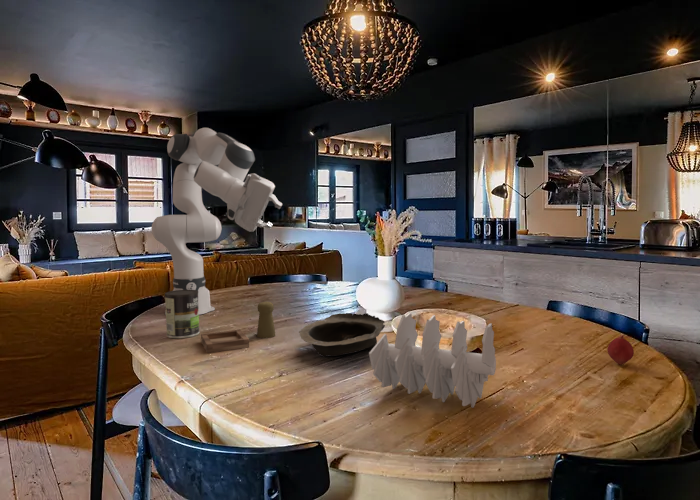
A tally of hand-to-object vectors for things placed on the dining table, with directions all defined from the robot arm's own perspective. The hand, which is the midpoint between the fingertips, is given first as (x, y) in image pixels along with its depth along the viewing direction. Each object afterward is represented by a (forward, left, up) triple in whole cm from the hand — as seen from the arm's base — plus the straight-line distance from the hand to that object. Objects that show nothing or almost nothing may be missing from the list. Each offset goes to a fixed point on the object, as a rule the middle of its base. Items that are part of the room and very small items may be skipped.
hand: (276, 217), depth 147 cm
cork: (+3, -5, -39) cm, 39 cm away
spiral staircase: (+66, +15, -39) cm, 78 cm away
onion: (+72, +70, -39) cm, 108 cm away
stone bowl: (+29, +10, -39) cm, 50 cm away
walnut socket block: (+7, -19, -38) cm, 44 cm away
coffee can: (-11, -29, -39) cm, 49 cm away
